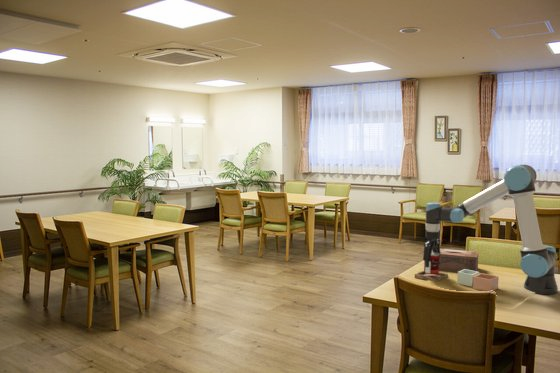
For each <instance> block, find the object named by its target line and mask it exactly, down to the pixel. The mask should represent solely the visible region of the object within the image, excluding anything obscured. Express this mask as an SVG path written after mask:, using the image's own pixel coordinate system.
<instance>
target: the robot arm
mask: <svg viewBox="0 0 560 373" xmlns="http://www.w3.org/2000/svg"><path fill="white" fill-rule="evenodd" d="M537 178H538V177H537V171H536V169H534V167H532V166H531V165H529V164H519V165H518V164H517V165H513V166H511V167H509V168H508V169H507V170H506V171H505V173H504V175H503V179H502V180H500V181H499V182H496V183H494V184H493V185H491V186H489V187H488V188H486V189H484V190H483V191H480V192H478V193H477V194H475V195H474V196H472V197H470V198H468V199H466V200H465V201H463V202H462V203H460V204H457V205H456V206H453V207H445V206H444V207H443V206H441V203H440V202H428V203H426V206H425V207H426V208H425V225H424V226H425V236H424V237H425V238H426V239H427V241H426V242H424V243H423V245H424V247H423V248H424V249H423V258H422V260H423V261H425V273H430V270H431V261H430V258H431V253H432V250H433V252H436V253H439V259H440V249H441V239H440V235H441V233H440V231H441V222H446V223H447V222H448V223H454V224H455V223H456V224H457V223H459V224H461V223H462V222H463V221H464V219H465V218H467V216H469V215H471V214H473V213H475V212H477V211H478V210H480V209H483V208H484V207H486V206H488V205H490V204H491V203H493V202H496V201H497V200H499V199H501V198H503V197H505V196H506V195H509V196H510V197H512V198H513V203H514V204H513V205H514V209H515V213H516V217H517V218H516V219H517V223H518V229H519V233H520V239H521V244H522V246H521V247H520V249H519V253H520V257H521V259H520V264H519V265H520V269H521V271H522V272H523V273H524V274H525V275H527V276H526V278H525V281H524V283H523V288H524V289H525V290H527V291H530V292H533V293H535V294H539V295H555V294H558V293H559V292H558V291H559V286H558V284H557V281H556V278H555V276H556V274H555V271H556V256H557V252H556V251H557V250H556V247H554V246H550V245H545V244H544V243H543V240H542V235H541V231H540V224H539V220H538V215H537V210H536V204H535V200H534V194H535V192H536V186H535V182H536V180H537Z"/></svg>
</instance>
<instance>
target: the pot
mask: <svg viewBox="0 0 560 373" xmlns="http://www.w3.org/2000/svg"><path fill="white" fill-rule="evenodd" d="M472 289H474V290H479V291H484V292H487V291H490V290H493V291H492V292H494V291H496V290H498V289H499V276H497V275H492V274H487V273H483V272H482V273H481V272H479V274H478V275H476V276H474V277H473V287H472Z"/></svg>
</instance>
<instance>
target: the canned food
mask: <svg viewBox="0 0 560 373" xmlns="http://www.w3.org/2000/svg"><path fill="white" fill-rule="evenodd" d="M423 261H424V260H423ZM430 261H431V270H430V273H427V274H438V273H439V272H440V270H439V253H436V252H432V253H431V258H430ZM423 268H424V269H423V271H424V272H425V261H424V262H423Z"/></svg>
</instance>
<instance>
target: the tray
mask: <svg viewBox="0 0 560 373" xmlns="http://www.w3.org/2000/svg"><path fill="white" fill-rule="evenodd" d="M448 277H449V274H448V273H444V272H440V271H439V273H438V274H427V273H425V272H424V270H422V271H420V272H417V273H414V278H416V279H419V280H424V281H433V282H439V281H441V280H443V279H446V278H448Z"/></svg>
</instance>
